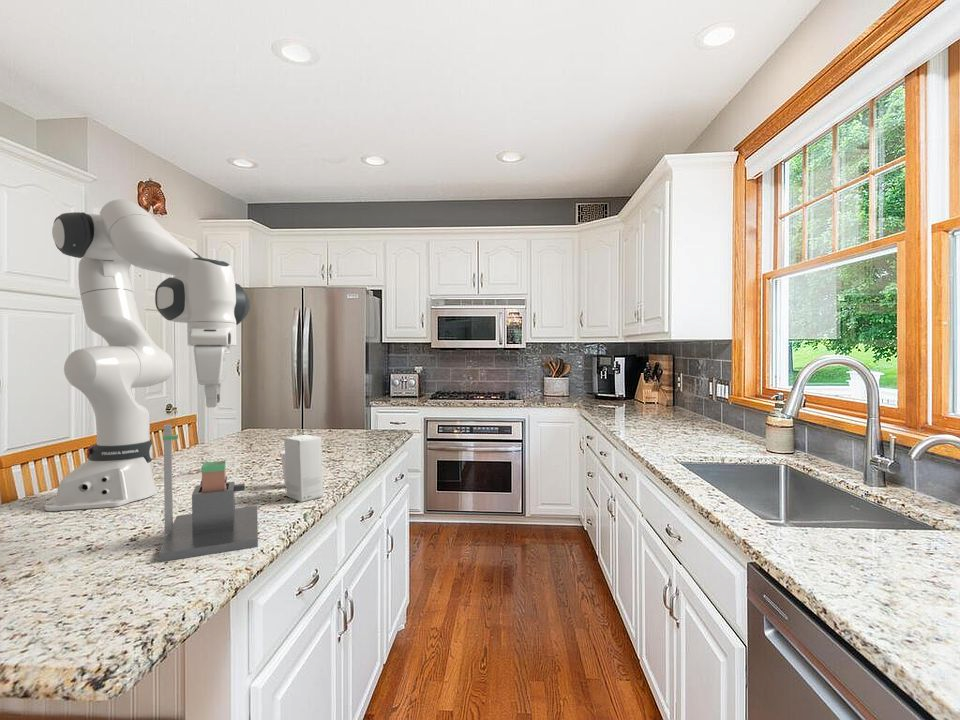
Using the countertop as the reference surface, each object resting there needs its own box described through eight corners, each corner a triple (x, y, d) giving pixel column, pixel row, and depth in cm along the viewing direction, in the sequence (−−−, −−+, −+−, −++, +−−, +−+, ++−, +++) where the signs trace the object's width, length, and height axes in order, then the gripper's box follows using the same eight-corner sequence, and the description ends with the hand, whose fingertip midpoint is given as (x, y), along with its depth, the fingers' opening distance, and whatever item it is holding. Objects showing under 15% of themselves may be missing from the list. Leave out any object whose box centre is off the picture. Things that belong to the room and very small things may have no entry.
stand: (154, 562, 85) (152, 433, 85) (173, 523, 105) (172, 418, 105) (257, 546, 92) (256, 427, 92) (257, 512, 112) (256, 414, 112)
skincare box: (323, 497, 124) (323, 437, 124) (299, 503, 119) (298, 440, 119) (308, 491, 129) (307, 433, 129) (284, 496, 125) (283, 436, 124)
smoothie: (308, 483, 137) (308, 434, 137) (297, 489, 131) (297, 438, 130) (287, 482, 138) (286, 434, 137) (275, 489, 131) (274, 438, 131)
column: (200, 529, 96) (200, 466, 96) (202, 522, 100) (202, 462, 100) (226, 525, 98) (226, 464, 98) (227, 519, 102) (227, 460, 102)
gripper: (199, 338, 106) (200, 401, 107) (188, 335, 88) (189, 410, 88) (231, 339, 109) (232, 399, 109) (227, 335, 91) (228, 408, 91)
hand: (213, 404), depth 98 cm, fingers open, 8 cm apart
